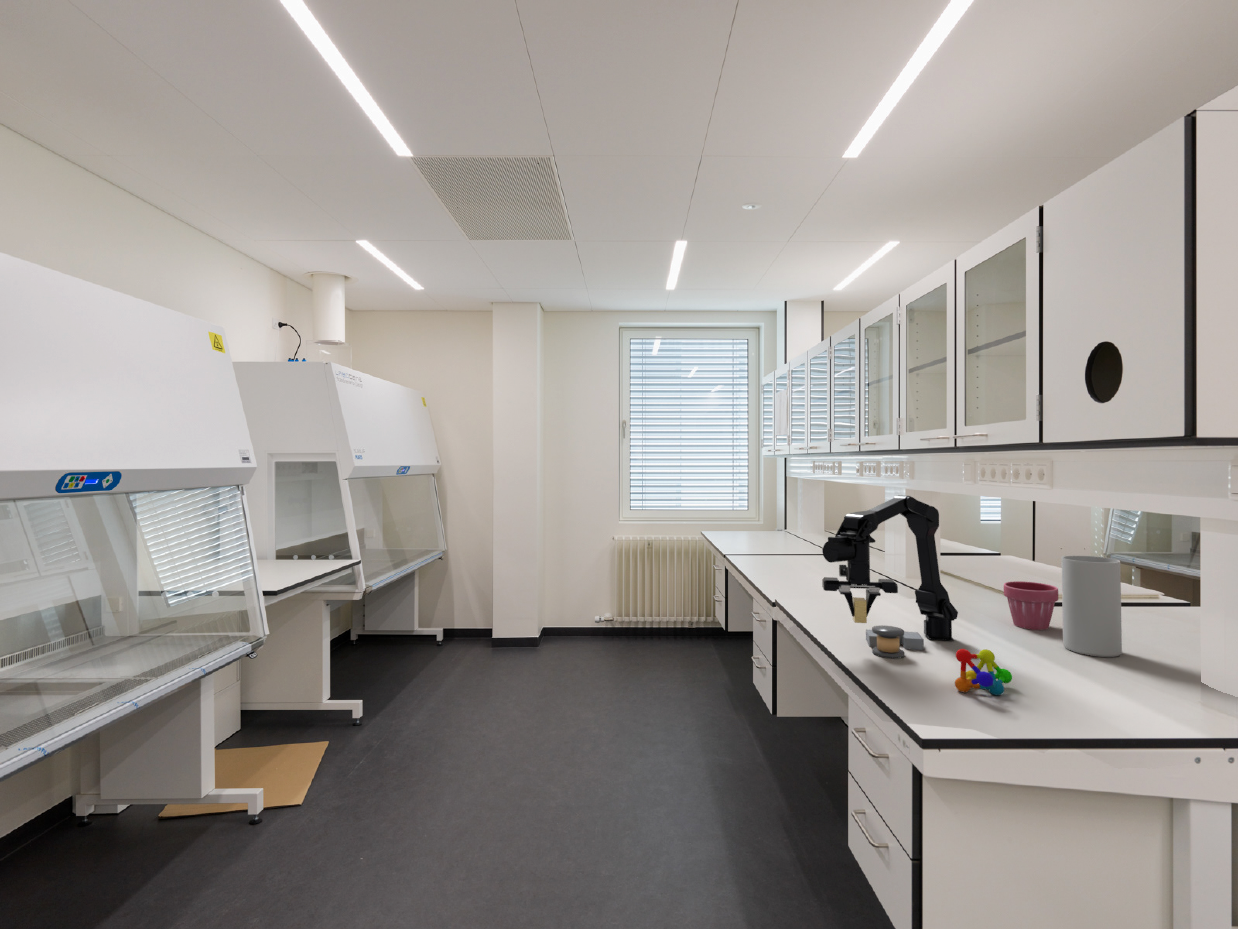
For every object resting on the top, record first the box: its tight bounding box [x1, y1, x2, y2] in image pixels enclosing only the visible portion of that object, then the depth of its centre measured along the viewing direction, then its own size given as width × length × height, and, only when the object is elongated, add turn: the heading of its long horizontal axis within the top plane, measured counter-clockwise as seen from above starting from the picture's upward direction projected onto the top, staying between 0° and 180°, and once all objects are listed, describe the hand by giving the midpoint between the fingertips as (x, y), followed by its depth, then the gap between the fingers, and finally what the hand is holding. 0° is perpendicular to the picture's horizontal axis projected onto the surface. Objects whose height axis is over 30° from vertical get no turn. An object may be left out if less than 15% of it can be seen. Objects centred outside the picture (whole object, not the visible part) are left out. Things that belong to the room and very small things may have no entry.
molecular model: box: [954, 648, 1013, 696], centre depth 134 cm, size 11×10×15 cm
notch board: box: [865, 628, 925, 651], centre depth 168 cm, size 14×7×3 cm, turn 75°
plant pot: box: [1003, 580, 1059, 631], centre depth 185 cm, size 14×14×13 cm
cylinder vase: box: [1061, 555, 1123, 658], centre depth 160 cm, size 12×12×25 cm
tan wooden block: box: [852, 596, 868, 624], centre depth 161 cm, size 3×4×6 cm
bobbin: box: [871, 625, 906, 660], centre depth 160 cm, size 8×8×7 cm
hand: (859, 616), depth 161 cm, fingers closed on tan wooden block, 3 cm apart
